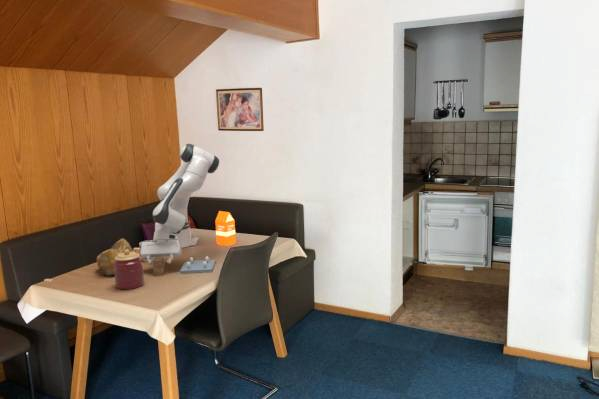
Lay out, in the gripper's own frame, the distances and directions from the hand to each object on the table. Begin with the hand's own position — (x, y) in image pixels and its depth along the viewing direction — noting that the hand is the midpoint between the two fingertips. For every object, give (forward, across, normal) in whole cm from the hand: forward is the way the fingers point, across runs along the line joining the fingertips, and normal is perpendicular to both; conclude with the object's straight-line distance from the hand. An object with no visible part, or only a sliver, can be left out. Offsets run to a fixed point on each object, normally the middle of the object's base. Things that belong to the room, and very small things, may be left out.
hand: (159, 263), depth 256 cm
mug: (-15, -11, +23) cm, 29 cm away
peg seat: (-1, +18, +8) cm, 20 cm away
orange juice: (-32, +28, +40) cm, 59 cm away
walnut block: (+4, 0, +3) cm, 5 cm away
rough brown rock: (-4, -27, +11) cm, 29 cm away
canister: (+14, -11, -7) cm, 19 cm away
